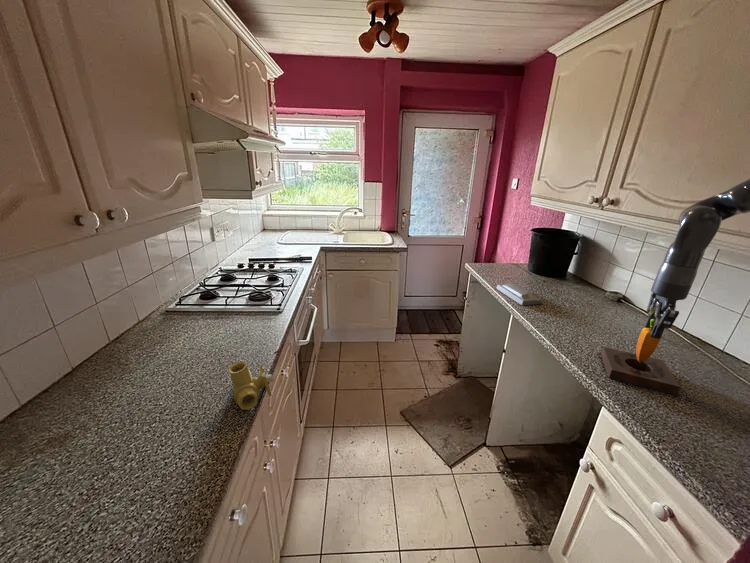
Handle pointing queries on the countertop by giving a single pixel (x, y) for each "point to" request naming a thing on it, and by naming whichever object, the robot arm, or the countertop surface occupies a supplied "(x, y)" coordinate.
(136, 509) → the countertop surface
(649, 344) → the carrot
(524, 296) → the soap mold
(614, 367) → the socket board
